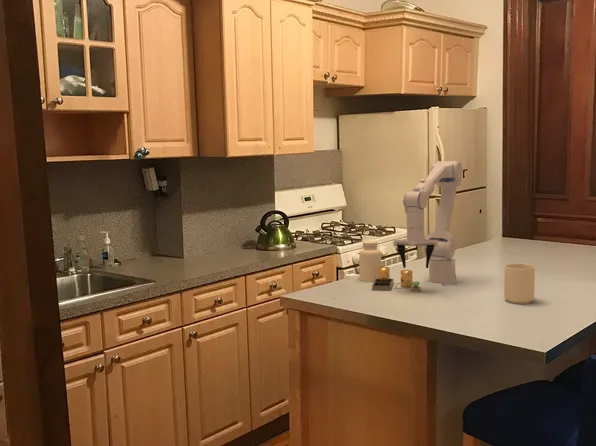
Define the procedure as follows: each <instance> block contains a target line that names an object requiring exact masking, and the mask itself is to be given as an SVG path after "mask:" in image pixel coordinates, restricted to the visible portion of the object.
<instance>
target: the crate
mask: <svg viewBox="0 0 596 446" xmlns="http://www.w3.org/2000/svg"><path fill="white" fill-rule="evenodd" d="M394 281H395V279H394V278H390V282H378V278H376V280H375V282H372V283H373V284H372V286H371V287H372V288H371V291H378V292H379V291H380V292H381V291H382V292H384V291H386V292H392V290H393V288H394V286H395V282H394Z"/></svg>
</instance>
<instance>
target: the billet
mask: <svg viewBox="0 0 596 446" xmlns="http://www.w3.org/2000/svg"><path fill="white" fill-rule="evenodd" d="M412 282H413V270H411V269H401V270H400V283H401V284H400V288H411V287H413V285H412Z"/></svg>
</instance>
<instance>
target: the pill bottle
mask: <svg viewBox="0 0 596 446" xmlns="http://www.w3.org/2000/svg"><path fill="white" fill-rule="evenodd" d="M358 256H359V257H358V259H359V261H358V262H359V263H358V264H359V266H358V267H359V269H358V270H359V273H358V274H359V277H358V279H359V281H361V282H365V283H366V282H367V283H374V282H375V280H376V278H378V267H382V251H381V250H380V249H378V241H375V240H365V241H363V242H362V249H360V251H359V255H358Z"/></svg>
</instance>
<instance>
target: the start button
mask: <svg viewBox="0 0 596 446" xmlns="http://www.w3.org/2000/svg"><path fill="white" fill-rule="evenodd" d="M418 285H419V286H420V281H412V286H413V287H414V288H418V287H419V286H418Z"/></svg>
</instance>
